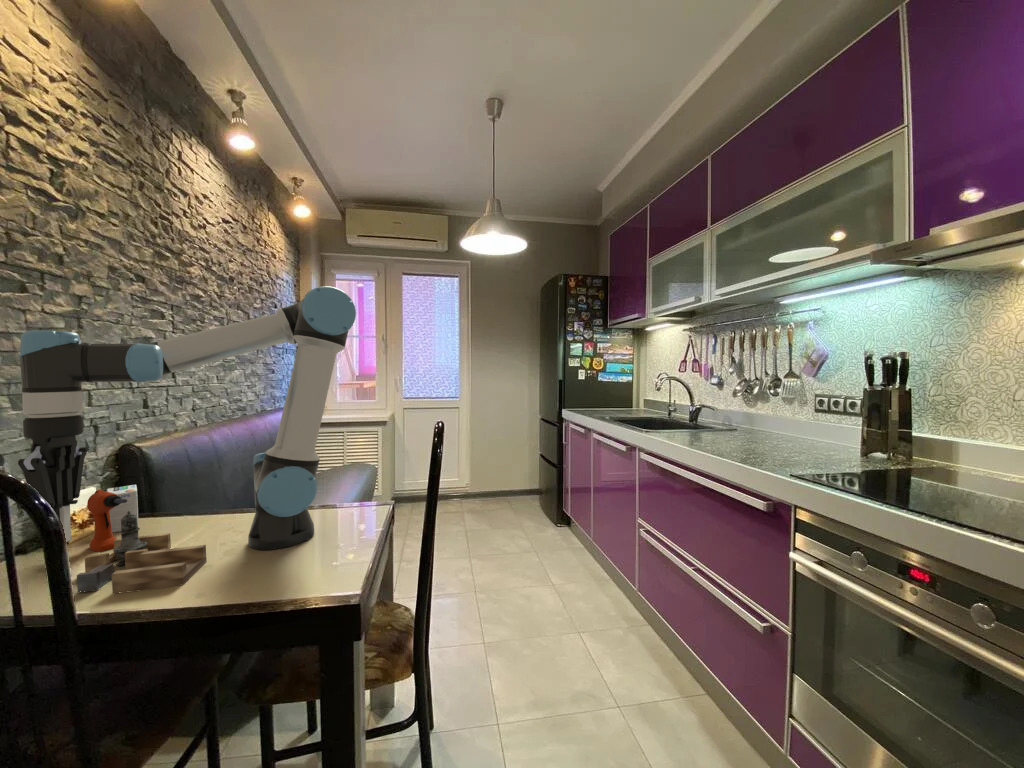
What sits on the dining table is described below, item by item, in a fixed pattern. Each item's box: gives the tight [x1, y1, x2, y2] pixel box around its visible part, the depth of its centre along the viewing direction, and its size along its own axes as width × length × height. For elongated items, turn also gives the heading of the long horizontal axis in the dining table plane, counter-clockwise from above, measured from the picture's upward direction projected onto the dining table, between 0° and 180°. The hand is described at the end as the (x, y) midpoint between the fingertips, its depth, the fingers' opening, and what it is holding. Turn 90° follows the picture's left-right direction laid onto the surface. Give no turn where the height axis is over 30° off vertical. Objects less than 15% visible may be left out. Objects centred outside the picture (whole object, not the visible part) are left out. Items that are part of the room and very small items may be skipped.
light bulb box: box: [106, 484, 139, 533], centre depth 123 cm, size 11×7×11 cm, turn 43°
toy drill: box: [86, 489, 127, 552], centre depth 106 cm, size 5×19×15 cm, turn 62°
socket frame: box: [84, 532, 172, 573], centre depth 99 cm, size 11×11×4 cm
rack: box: [111, 544, 208, 594], centre depth 91 cm, size 12×11×4 cm
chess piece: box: [112, 511, 147, 568], centre depth 99 cm, size 6×6×12 cm
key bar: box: [76, 562, 115, 593], centre depth 88 cm, size 3×6×4 cm, turn 15°
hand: (59, 541), depth 78 cm, fingers closed
